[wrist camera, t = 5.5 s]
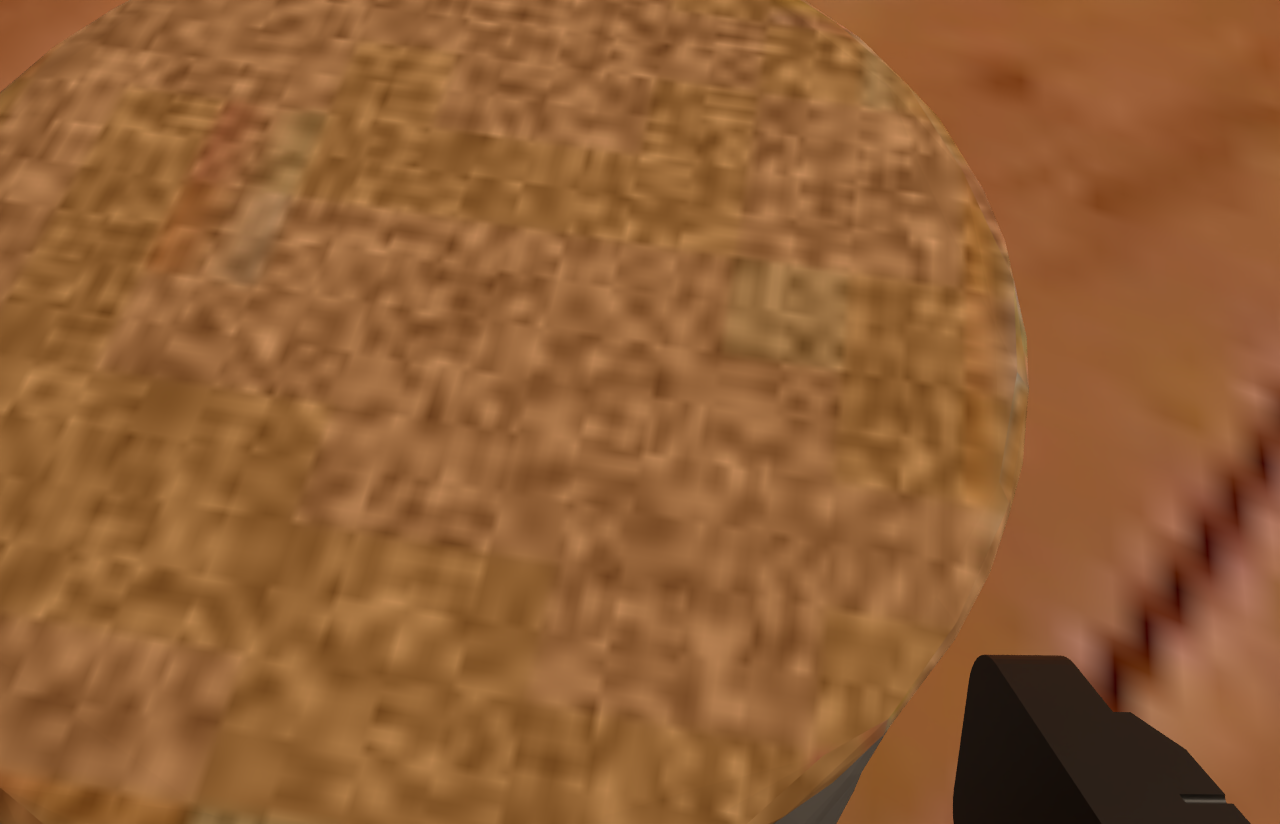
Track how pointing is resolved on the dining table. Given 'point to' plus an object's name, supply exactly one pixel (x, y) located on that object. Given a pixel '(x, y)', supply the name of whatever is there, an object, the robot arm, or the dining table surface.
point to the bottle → (484, 412)
